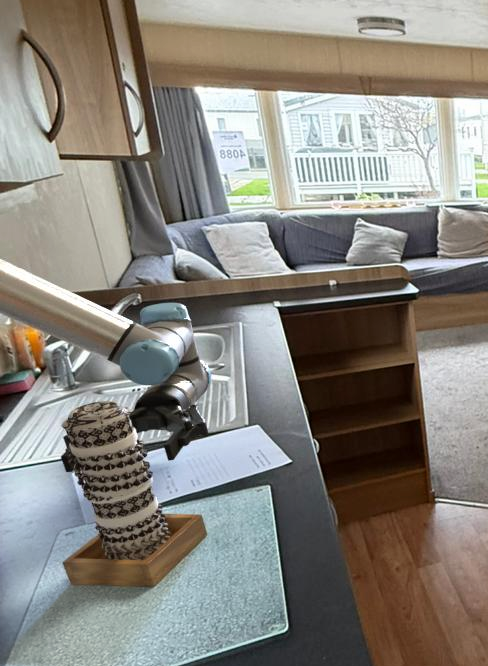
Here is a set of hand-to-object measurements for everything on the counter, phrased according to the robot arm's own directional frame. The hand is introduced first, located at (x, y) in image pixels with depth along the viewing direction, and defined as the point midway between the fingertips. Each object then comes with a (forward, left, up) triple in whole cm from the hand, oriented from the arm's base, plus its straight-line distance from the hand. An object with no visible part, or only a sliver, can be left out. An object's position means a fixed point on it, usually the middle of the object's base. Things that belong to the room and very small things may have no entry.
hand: (118, 458), depth 98 cm
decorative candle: (+1, -2, -16) cm, 16 cm away
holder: (+1, -2, -17) cm, 17 cm away
